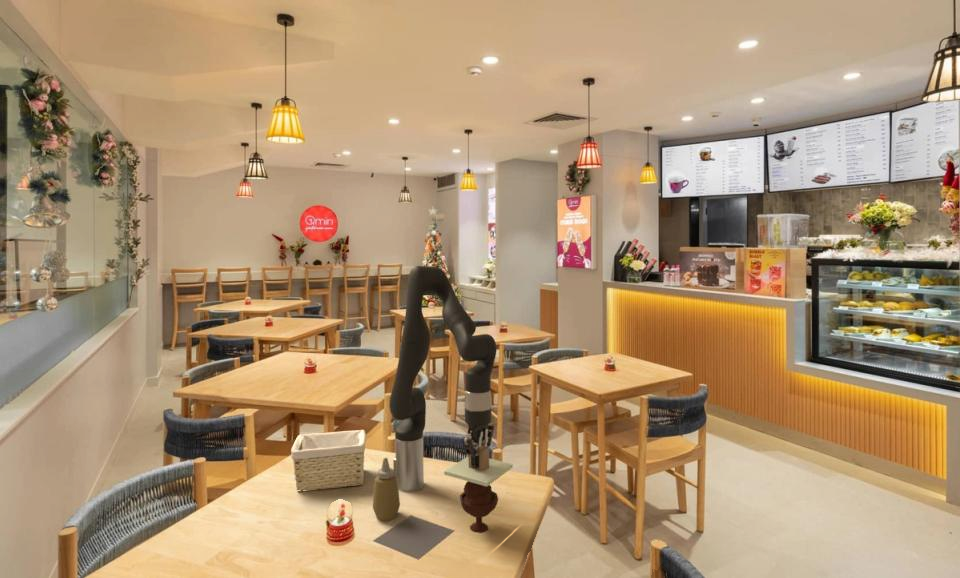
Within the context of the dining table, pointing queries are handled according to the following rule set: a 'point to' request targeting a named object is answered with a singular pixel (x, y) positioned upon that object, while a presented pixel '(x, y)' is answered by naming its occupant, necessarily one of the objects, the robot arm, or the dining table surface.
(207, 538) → the dining table surface
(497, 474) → the cover
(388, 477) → the squeeze bottle
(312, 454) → the storage basket
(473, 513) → the ice cream bowl
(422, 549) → the mat
